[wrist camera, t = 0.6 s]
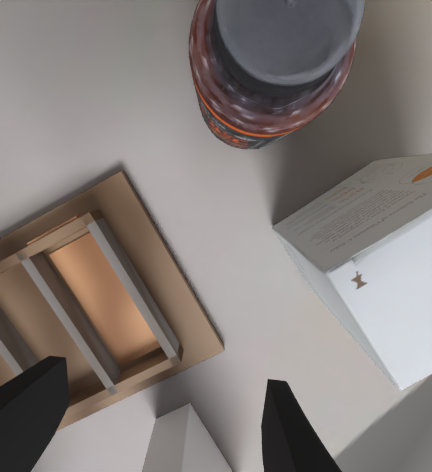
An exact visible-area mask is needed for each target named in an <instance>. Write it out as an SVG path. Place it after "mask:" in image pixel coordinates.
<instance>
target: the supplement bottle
mask: <svg viewBox="0 0 432 472" xmlns="http://www.w3.org/2000/svg"><path fill="white" fill-rule="evenodd" d="M364 2H365V0H199V2H198V4H197V7H196V10H195V13H194V16H193V20H192V23H191V30H190V37H189V59H190V66H191V71H192V76H193V81H194V85H195V89H196V92H197V96H198V101H199V106H200V110H201V113H202V117H203V118H204V121H205V122H206V124H207V126H208V127H209V129H210V130H211V132H212V133H213V134H214V135H215V136H216V137H217V138H218V139H220V140H221V141H223V142H224V143H226V144H228V145H230V146H233V147H236V148H240V149H259V148H260V147H263V146H266V145H269V144H271V143H273V142H274V141H276V140H278V139H280V138H282V137H284V136H286V135H288V134H290V133H291V132H293V131H295V130H297V129H299V128H301V127H302V126H304V125H306V124H308V123H309V122H311V121H312V120H313V119H315V118H316V117H317V116H318V115H320V114H321V113H322V112H323V111H324V110H325V109H326V108H327V107H328V106H329V105H330V104H331V103H332V101H333V100H334V99H335V97H336V96H337V94H338V93H339V92H340V90H341V88H342V87H343V85H344V82H345V81H346V79H347V76H348V74H349V71H350V68H351V65H352V61H353V58H354V53H355V48H356V36H357V34H358V32H359V29H360V25H361V22H362V18H363V13H364Z"/></svg>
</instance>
